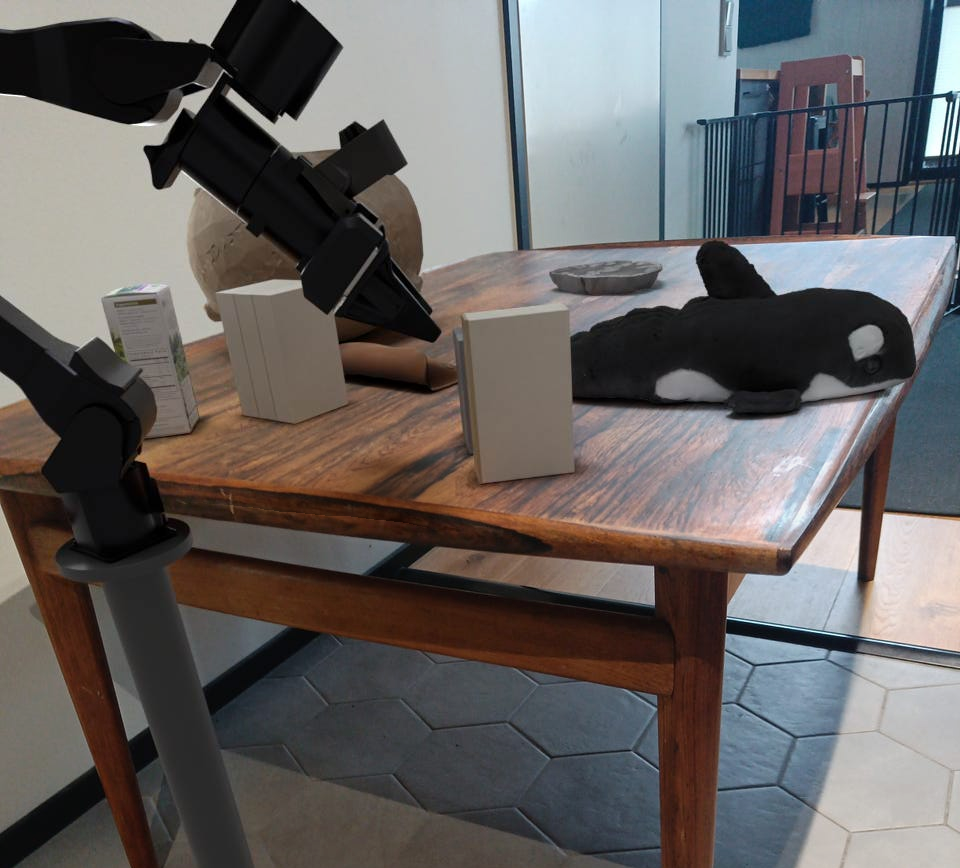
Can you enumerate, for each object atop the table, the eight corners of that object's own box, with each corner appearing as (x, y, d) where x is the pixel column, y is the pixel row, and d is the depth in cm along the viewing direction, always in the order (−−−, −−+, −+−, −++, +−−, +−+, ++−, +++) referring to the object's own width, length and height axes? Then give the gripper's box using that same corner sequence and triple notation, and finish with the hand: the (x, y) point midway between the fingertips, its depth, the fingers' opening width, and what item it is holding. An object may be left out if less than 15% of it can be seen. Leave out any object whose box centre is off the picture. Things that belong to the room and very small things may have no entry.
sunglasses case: (476, 371, 105) (452, 327, 100) (445, 415, 103) (419, 372, 98) (371, 360, 116) (345, 319, 111) (342, 399, 114) (313, 360, 108)
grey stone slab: (686, 280, 151) (686, 261, 150) (631, 298, 140) (631, 278, 139) (591, 277, 163) (591, 259, 161) (534, 293, 152) (533, 275, 151)
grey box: (469, 454, 80) (458, 340, 75) (462, 435, 85) (452, 328, 80) (556, 444, 81) (551, 330, 76) (544, 425, 86) (539, 318, 81)
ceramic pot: (219, 377, 117) (169, 163, 104) (203, 336, 145) (163, 163, 132) (459, 339, 125) (440, 136, 112) (400, 307, 153) (380, 141, 140)
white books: (295, 424, 94) (269, 295, 88) (242, 415, 99) (215, 292, 93) (348, 404, 99) (328, 280, 93) (296, 396, 104) (273, 279, 98)
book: (479, 484, 73) (464, 320, 67) (475, 472, 76) (460, 313, 69) (574, 472, 74) (569, 308, 67) (567, 461, 76) (561, 302, 70)
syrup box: (149, 425, 99) (111, 287, 92) (202, 419, 99) (168, 281, 92) (138, 440, 94) (96, 296, 87) (194, 433, 94) (157, 289, 87)
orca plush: (893, 429, 76) (920, 246, 69) (480, 403, 95) (467, 258, 87) (921, 367, 92) (946, 213, 85) (562, 356, 110) (557, 229, 103)
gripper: (320, 66, 51) (520, 250, 58) (329, 84, 68) (485, 226, 74) (216, 229, 55) (415, 387, 61) (249, 209, 71) (404, 335, 77)
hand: (433, 325), depth 68 cm, fingers open, 9 cm apart
